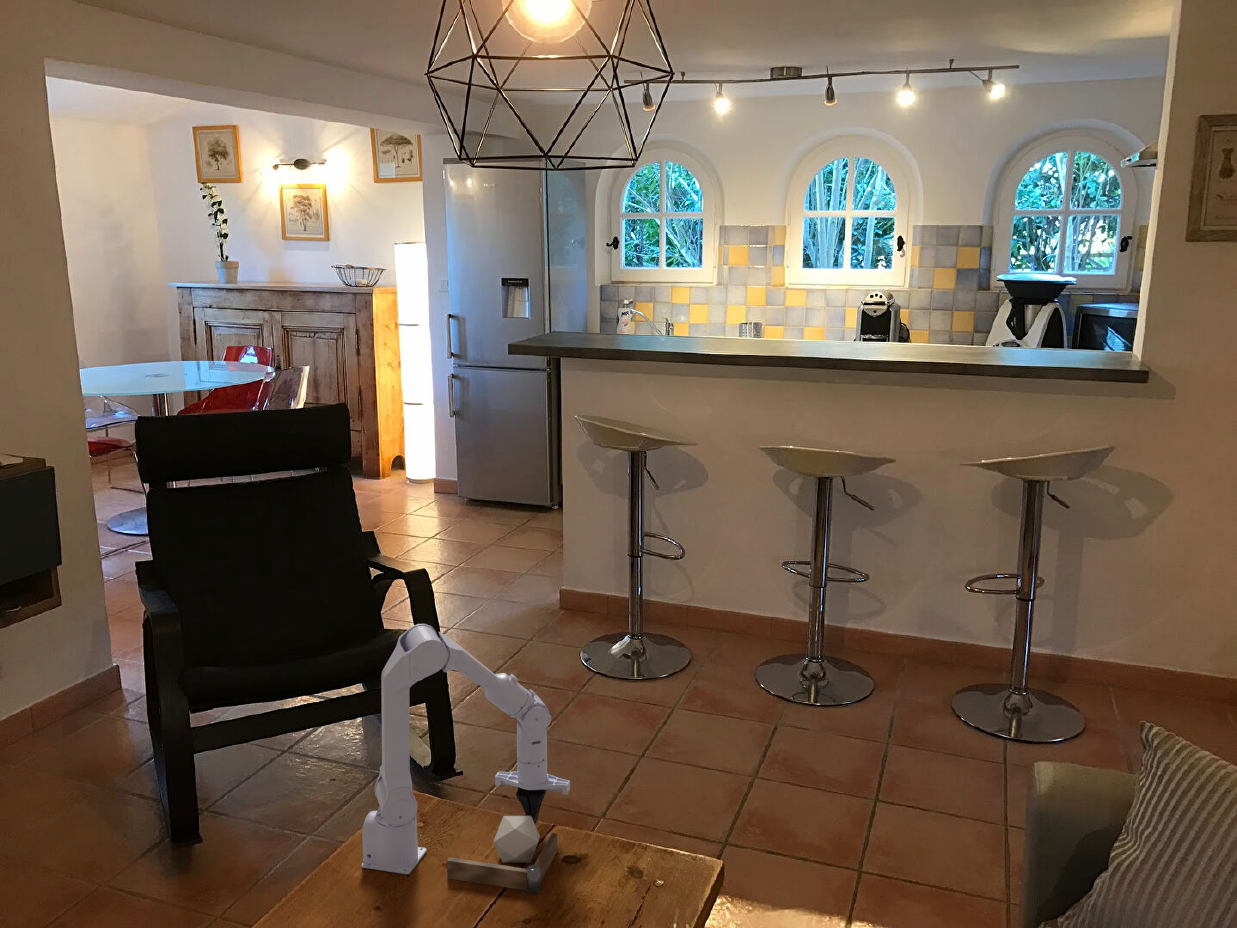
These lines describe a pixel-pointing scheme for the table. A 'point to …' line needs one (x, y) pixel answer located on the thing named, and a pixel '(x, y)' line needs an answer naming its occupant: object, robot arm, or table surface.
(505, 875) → the wooden l-shaped bracket
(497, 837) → the die
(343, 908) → the table surface
